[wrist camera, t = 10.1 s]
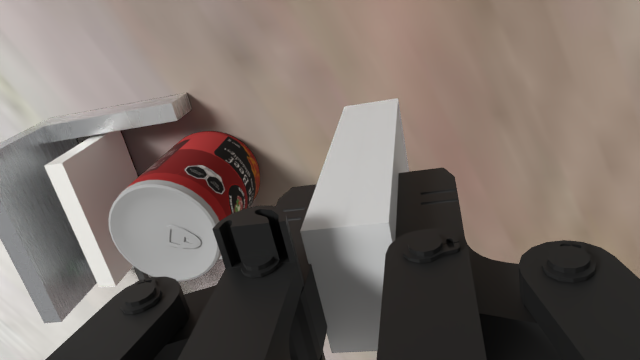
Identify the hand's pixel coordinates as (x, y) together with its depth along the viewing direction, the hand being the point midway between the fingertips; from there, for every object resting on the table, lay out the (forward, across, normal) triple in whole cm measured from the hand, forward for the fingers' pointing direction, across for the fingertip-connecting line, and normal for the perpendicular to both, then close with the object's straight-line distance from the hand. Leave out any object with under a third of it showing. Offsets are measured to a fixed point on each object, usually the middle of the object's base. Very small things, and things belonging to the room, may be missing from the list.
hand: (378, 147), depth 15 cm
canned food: (+25, -17, -10) cm, 32 cm away
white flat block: (+24, -25, -12) cm, 37 cm away
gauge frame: (+25, -24, -10) cm, 35 cm away
